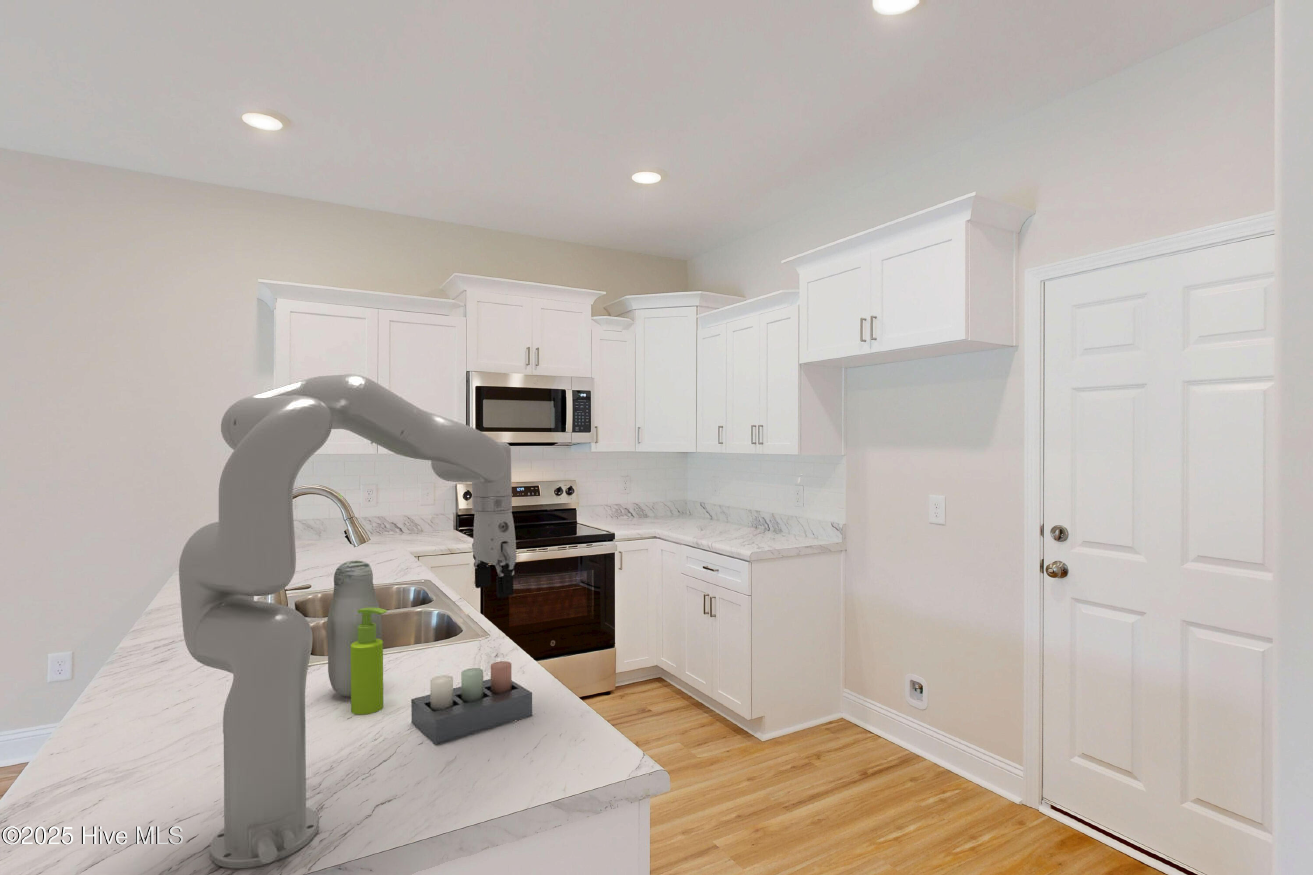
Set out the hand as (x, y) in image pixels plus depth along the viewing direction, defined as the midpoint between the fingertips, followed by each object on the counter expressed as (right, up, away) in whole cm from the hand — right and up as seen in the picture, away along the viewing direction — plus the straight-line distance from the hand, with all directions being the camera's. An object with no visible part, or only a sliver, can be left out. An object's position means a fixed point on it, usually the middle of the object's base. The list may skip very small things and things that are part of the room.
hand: (493, 591), depth 131 cm
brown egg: (+1, -20, 0) cm, 20 cm away
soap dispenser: (-25, -24, +2) cm, 35 cm away
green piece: (-3, -20, -4) cm, 20 cm away
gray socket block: (-3, -24, -4) cm, 24 cm away
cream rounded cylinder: (-8, -20, -7) cm, 22 cm away
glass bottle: (-32, -24, +9) cm, 41 cm away
